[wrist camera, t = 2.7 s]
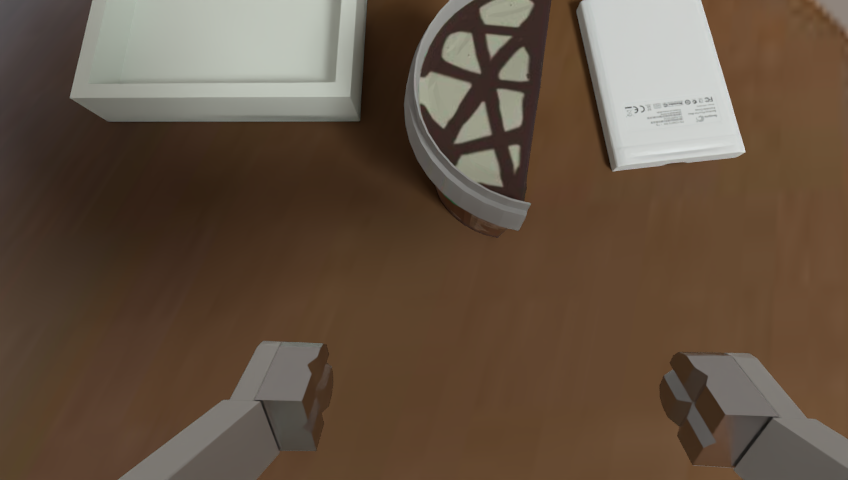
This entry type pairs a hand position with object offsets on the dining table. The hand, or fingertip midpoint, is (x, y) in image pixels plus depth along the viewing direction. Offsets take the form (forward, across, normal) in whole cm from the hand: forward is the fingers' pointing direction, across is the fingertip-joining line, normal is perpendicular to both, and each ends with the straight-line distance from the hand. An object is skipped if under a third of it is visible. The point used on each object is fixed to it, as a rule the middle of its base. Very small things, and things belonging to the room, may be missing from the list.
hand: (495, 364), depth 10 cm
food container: (+19, 0, +2) cm, 19 cm away
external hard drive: (+24, -13, -1) cm, 27 cm away
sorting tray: (+29, +16, -8) cm, 34 cm away
